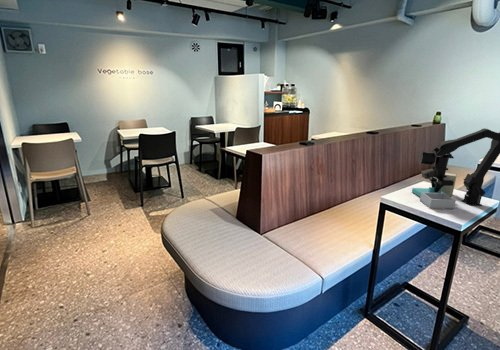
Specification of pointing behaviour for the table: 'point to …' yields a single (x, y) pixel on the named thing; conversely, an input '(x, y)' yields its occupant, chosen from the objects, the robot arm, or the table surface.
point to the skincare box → (449, 189)
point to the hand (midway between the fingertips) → (434, 192)
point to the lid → (425, 190)
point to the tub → (437, 200)
